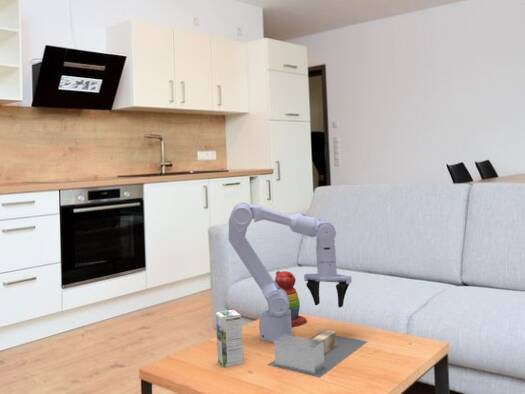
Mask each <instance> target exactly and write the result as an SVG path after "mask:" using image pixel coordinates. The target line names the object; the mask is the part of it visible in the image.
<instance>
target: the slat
mask: <svg viewBox="0 0 525 394" xmlns="http://www.w3.org/2000/svg"><path fill="white" fill-rule="evenodd" d="M320 333H321V334H320V335H318V336H316V337H315V338H313V339H311V338H310V339H311V340H316V341H322V342H323V345H324V354H325V353H326V352H328V351H329V350H331V349H332V348H333V347H335V346H336V345H337V342H336V336H337V331H333V330H327V329H326V330H325V331H322V332H320Z"/></svg>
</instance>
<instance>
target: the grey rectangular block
mask: <svg viewBox="0 0 525 394" xmlns="http://www.w3.org/2000/svg"><path fill="white" fill-rule="evenodd" d="M273 345H274V346H273V347H274V360H275V365H277V366H282V367H286V368H290V369H294V370H299V371H303V372H307V373H311V374H316V373H317V372H319V371H320V370H321V369H323V368H324V367H325V365H324V345H323V342H322V341H316V340H311V338H305V337H299V336H294V335H292V336H290V335H283V336H281V337H279V338H277V339H275V340H274V343H273Z"/></svg>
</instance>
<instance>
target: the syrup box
mask: <svg viewBox="0 0 525 394" xmlns="http://www.w3.org/2000/svg"><path fill="white" fill-rule="evenodd" d="M215 323H216V324H215V325H216V327H215V328H216V329H215V331H216V346H217V347H216V349H217V362H218V363H219V364H220V366H222V368H225V369H226V368H229V367H234V366H239V365H242V364H244V345H243V343H244V342H243V327H242V326H243V325H242V314H240V313H239V312H237V310H234V309H231V310H230V309H228V310H222V311H217V312H215Z"/></svg>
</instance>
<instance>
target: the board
mask: <svg viewBox="0 0 525 394" xmlns="http://www.w3.org/2000/svg"><path fill="white" fill-rule="evenodd" d="M321 333H322V332H319V333H317V334H315V335H314V336H312V337H311V338H310V339H313V338H315V337H316V336H318V335H320V334H321ZM336 342H337V345H336V346H335V347H333V348H332V349H331V350H329V351H328V352H326V353H325V354H324V365H325V367H324V368H323V369H321V370H320V371H319V372H317V373H316V374H311V373H307V372H303V371H299V370H294V369H290V368H286V367H282V366H277V365H275V359H274V360H272V361H271V362H270V363H268V364H267V366H269V367H272V368H278V369H282V370H286V371H289V372H294V373H299V374H303V375H308V376H311V377H315V378H321V377H322V376H324V375H325V374H327V373H328V372H329V371H331V370H332V369H333V368H335V367H336V366H337V365H339V364H340V363H341V362H342V361H344V360H345V359H347V358H348V357H350V355H352V354H353V353H355V352H356V351H358V350H359V349H360V348H361V347H363V346H364V345H365V344H367V343H368V341H367V340H361V339H356V338H352V337H351V338H349V337H345V336H341V335H340V336H339V335H336Z"/></svg>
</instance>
